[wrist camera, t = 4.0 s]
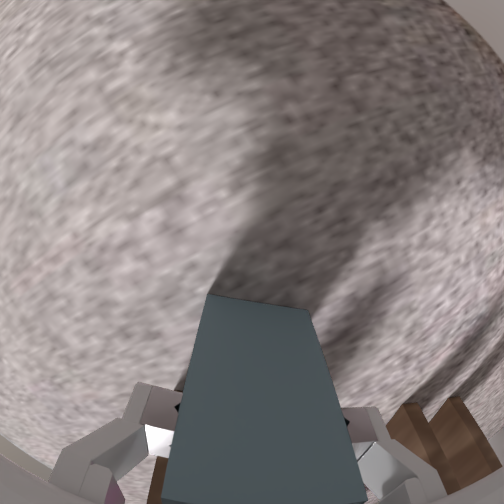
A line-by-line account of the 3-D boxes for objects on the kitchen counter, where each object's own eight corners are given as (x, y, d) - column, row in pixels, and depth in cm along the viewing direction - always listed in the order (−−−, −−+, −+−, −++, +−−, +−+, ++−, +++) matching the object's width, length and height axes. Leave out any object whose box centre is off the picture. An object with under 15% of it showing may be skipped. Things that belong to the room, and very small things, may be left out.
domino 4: (459, 396, 18) (506, 474, 8) (430, 431, 19) (466, 505, 10) (448, 398, 18) (496, 480, 8) (419, 433, 19) (454, 512, 10)
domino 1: (199, 394, 16) (177, 542, 7) (194, 434, 18) (178, 553, 8) (173, 389, 16) (140, 534, 7) (172, 430, 18) (150, 547, 8)
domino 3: (417, 402, 17) (465, 499, 8) (388, 438, 19) (420, 527, 10) (402, 404, 17) (449, 507, 8) (373, 440, 19) (404, 533, 9)
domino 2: (207, 293, 14) (160, 497, 4) (307, 309, 14) (367, 500, 5) (203, 321, 14) (164, 513, 5) (299, 335, 15) (342, 518, 5)
